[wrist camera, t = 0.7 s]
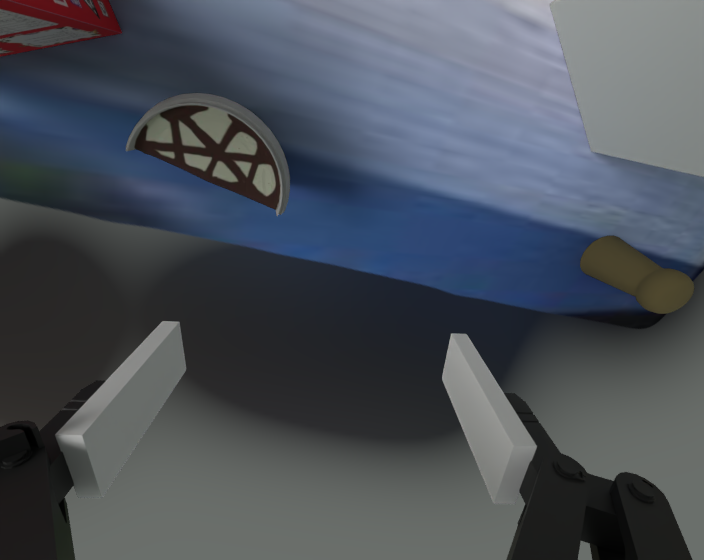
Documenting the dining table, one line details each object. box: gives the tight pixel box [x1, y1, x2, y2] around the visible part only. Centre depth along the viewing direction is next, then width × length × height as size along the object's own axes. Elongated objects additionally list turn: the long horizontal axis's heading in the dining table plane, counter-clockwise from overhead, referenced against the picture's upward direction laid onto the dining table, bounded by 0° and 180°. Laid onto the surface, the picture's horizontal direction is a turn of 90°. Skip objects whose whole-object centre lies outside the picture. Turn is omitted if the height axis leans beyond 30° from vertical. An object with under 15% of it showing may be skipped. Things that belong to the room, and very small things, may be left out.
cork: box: [580, 236, 694, 314], centre depth 42 cm, size 6×6×11 cm
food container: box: [126, 93, 290, 216], centre depth 29 cm, size 12×6×10 cm, turn 62°
